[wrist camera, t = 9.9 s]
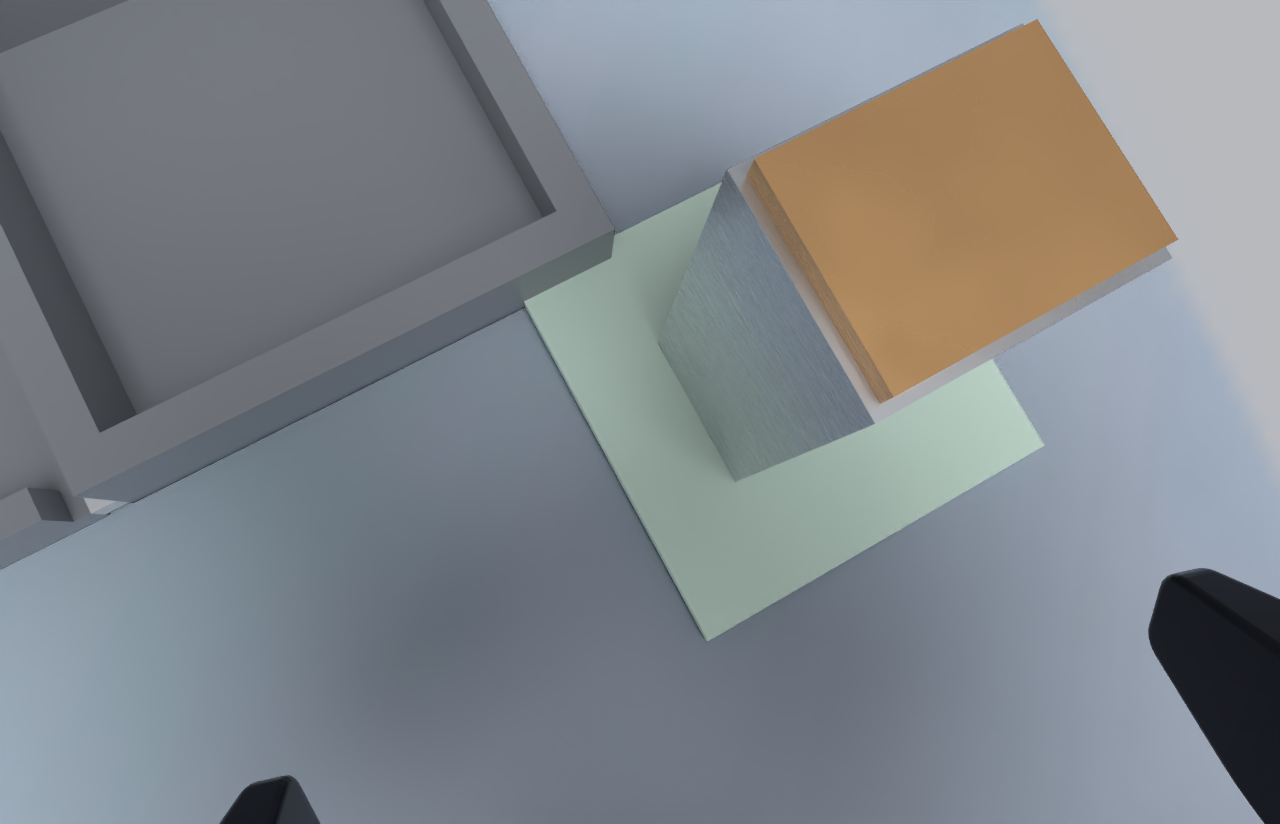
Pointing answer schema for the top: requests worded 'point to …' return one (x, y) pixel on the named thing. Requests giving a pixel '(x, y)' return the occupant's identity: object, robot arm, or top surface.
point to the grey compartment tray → (250, 225)
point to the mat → (776, 497)
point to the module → (903, 250)
